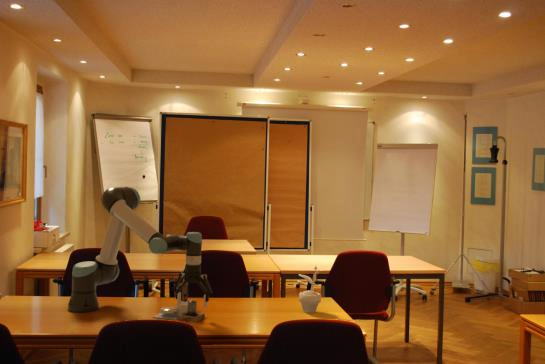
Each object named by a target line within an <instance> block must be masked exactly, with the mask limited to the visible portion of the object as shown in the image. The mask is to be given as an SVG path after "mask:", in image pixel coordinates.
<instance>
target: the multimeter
mask: <svg viewBox="0 0 545 364" xmlns="http://www.w3.org/2000/svg"><path fill="white" fill-rule="evenodd" d="M181 272H182V273H185V270H183V271H181ZM181 272H179V273H181ZM184 281H185V276H184V277H183V278H182V282H180V283H179V285H178V288H179V287H180V286H181V284H182V283H183V282H184ZM180 292H181V301H182V302H188V301H189V300H188V299H189V298H188V297H189V282H187V284H186V285H185V286H184V287H183V288H182V289H181V290H180Z"/></svg>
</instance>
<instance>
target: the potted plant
mask: <svg viewBox="0 0 545 364" xmlns="http://www.w3.org/2000/svg"><path fill="white" fill-rule="evenodd" d="M313 269H314V271H315V272H313V275H312V278H311V277H310V276H308V275H305V274H300V273H298V276H299V277H301V278H303V279H304V280H306V281H307V282H308V283H309V284H310V285H311V286H310V290H309V289H308V290H304V291H301V292H299V295H298V298H299V299H298V301H299V302H300V304H301V308H302V312H304V313H305V314H315V313H316V312H317V308H318V306H319V304H320V303H321V302H322V294H321V293H320V292H317V291H314V285H315V284H314V283H315V282H317V274H319V272H320V271H319V270H318V269H319V268H318V267H317V266H315V267H313Z"/></svg>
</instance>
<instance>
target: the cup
mask: <svg viewBox="0 0 545 364" xmlns="http://www.w3.org/2000/svg"><path fill="white" fill-rule="evenodd" d="M175 307H176V309H179V312H178V313H176V315H181V314H182V313H187V310H188V302H182V301H181V305H180V306H179V307H178V306H177V303H176V305H175Z"/></svg>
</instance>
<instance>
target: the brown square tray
mask: <svg viewBox="0 0 545 364" xmlns="http://www.w3.org/2000/svg"><path fill="white" fill-rule="evenodd" d="M204 318H205V312H197V311H196V317H193V316H187V313H182V314H181V315H179V316H178V319H177V321H180V320H181V321H180V322H189V323H190V322H192V323H199V322H200V321H201V320H203V319H204Z"/></svg>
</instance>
